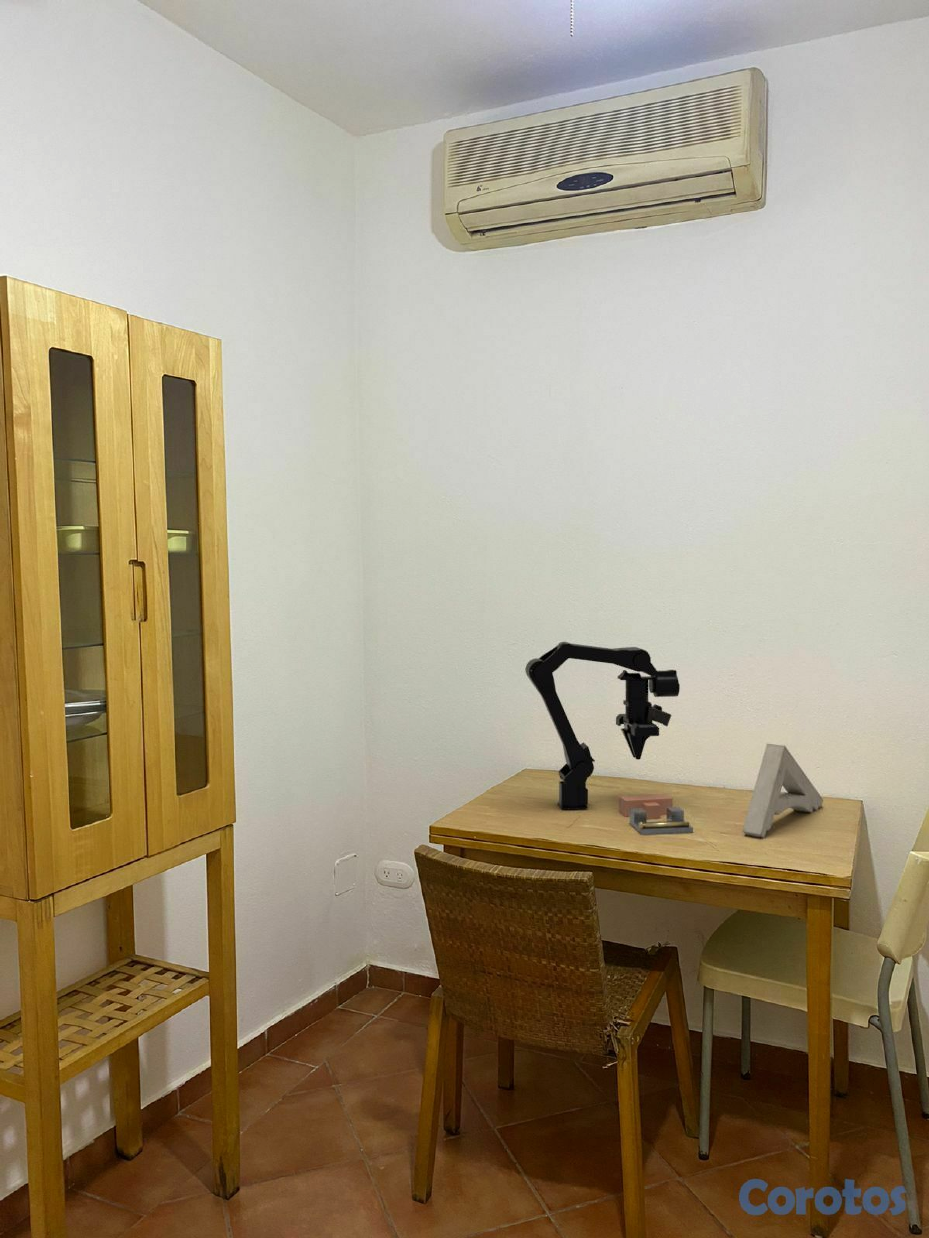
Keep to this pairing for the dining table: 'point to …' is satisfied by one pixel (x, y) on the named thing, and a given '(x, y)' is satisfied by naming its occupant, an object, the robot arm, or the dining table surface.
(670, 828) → the fixed leaf
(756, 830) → the grey letter a
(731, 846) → the dining table surface
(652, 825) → the hinge pin
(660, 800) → the pink tabbed slab
